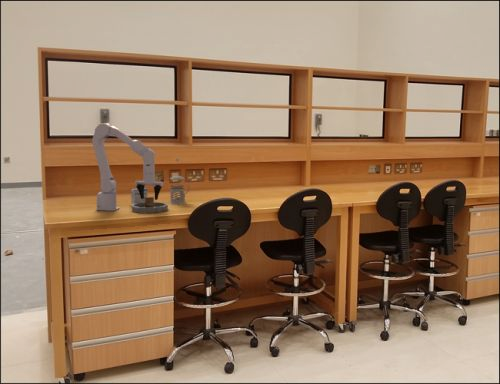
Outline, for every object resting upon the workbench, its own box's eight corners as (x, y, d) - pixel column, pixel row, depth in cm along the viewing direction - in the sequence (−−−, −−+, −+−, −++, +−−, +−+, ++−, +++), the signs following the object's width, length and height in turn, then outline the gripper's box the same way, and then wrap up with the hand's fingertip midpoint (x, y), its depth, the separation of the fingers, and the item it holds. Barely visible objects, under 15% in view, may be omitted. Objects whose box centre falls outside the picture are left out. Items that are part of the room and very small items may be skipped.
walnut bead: (143, 209, 252) (143, 197, 251) (147, 207, 256) (147, 196, 255) (151, 209, 251) (151, 198, 250) (155, 208, 255) (155, 196, 254)
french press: (167, 201, 280) (167, 157, 276) (188, 200, 283) (187, 157, 279) (169, 204, 270) (169, 159, 267) (190, 203, 273) (190, 159, 270)
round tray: (125, 211, 247) (125, 206, 246) (140, 205, 264) (140, 201, 264) (159, 213, 243) (159, 208, 243) (172, 207, 260) (172, 202, 260)
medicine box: (134, 205, 265) (134, 189, 264) (131, 204, 269) (130, 188, 268) (147, 204, 270) (147, 188, 269) (144, 203, 274) (144, 187, 272)
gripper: (132, 173, 248) (132, 199, 250) (159, 174, 245) (159, 201, 247) (138, 171, 255) (138, 197, 257) (164, 173, 252) (164, 199, 254)
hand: (149, 199), depth 253 cm, fingers open, 7 cm apart
